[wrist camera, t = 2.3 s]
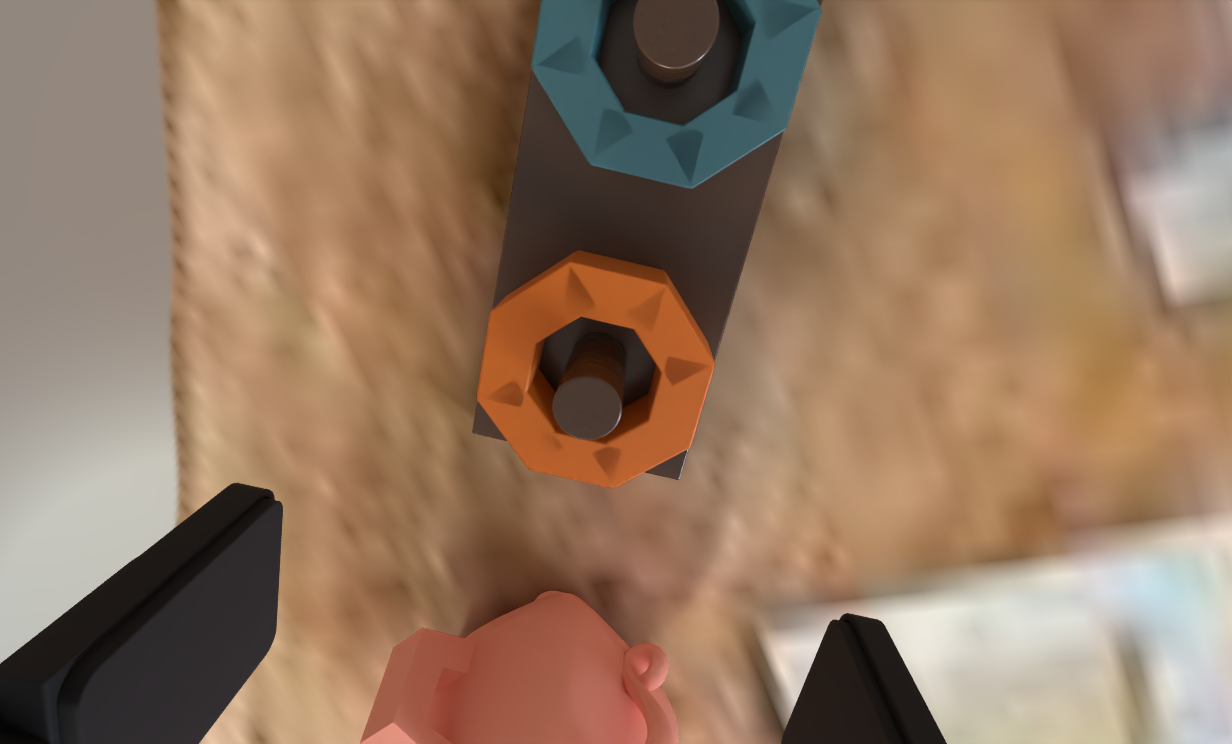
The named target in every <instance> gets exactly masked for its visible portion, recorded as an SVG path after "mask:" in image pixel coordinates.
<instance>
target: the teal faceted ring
mask: <svg viewBox="0 0 1232 744" xmlns="http://www.w3.org/2000/svg"><path fill="white" fill-rule="evenodd" d="M616 1H617V0H541V4H540V10H539V16H538V22H537V28H536V35H535V41H534V47H533V53H532V59H531V67H532V71H533V72H534V74H535V76H536V77H537V79H538V81H539V82H540V84H541V85H542V87H543V89H544V90H545V92H546V94H547V95H548V97H549V99H550V100H551V102H552V104H553V105H554V107H555V108H556V110H557V112H558V113H559V115H560V117H561V118H562V120H563V122H564V123H565V125H566V127H567V128H568V130H569V132H570V133H571V135H572V136H573V138H574V140H575V141H576V143H577V145H578V146H579V148H580V150H581V151H582V153H583V155H584V156H585V158H586V160H587V161H588V162H589V163H590V164H591V165H593V166H597V167H601V168H605V169H609V170H614V171H618V172H622V173H626V174H630V175H634V176H638V177H643V178H647V179H651V180H655V181H659V182H663V183H667V184H672V185H676V186H680V187H684V188H688V189H692V188H694V187H696V186H697V185H699V184H701V183H702V182H704V181H705V180H707V179H709V178H710V177H712V176H713V175H715V174H716V173H718V172H720V171H721V170H723V169H724V168H726V167H728V166H729V165H731V164H732V163H734V162H735V161H737V160H739V159H740V158H742V157H743V156H745V155H746V154H748V153H750V152H751V151H753V150H754V149H756V148H758V147H759V146H761V145H762V144H764V143H765V142H767V141H769V140H770V139H772V138H773V137H775V136H776V135H778V134H780V133H781V132H783V131H784V130H785V129H786V128H787V125H788V121H789V118H790V114H791V111H792V108H793V104H794V101H795V98H796V94H797V91H798V88H799V84H800V81H801V78H802V74H803V71H804V68H805V64H806V61H807V58H808V54H809V51H810V48H811V44H812V41H813V38H814V34H815V31H816V28H817V24H818V21H819V18H820V14H821V8H820V5H819V3H818V1H817V0H724V2H725V4H726V6H727V8H728V10H729V12H730V14H731V16H732V18H733V20H734V22H735V24H736V26H737V28H738V30H739V32H740V34H741V36H742V40H741V44H740V48H739V52H738V55H737V59H736V63H735V67H734V71H733V74H732V78H731V82H730V86H729V90H728V93H727V97H725V98H724V99H722V100H721V101H719V102H717V103H716V104H714V105H713V106H711V107H710V108H708V109H707V110H705V111H704V112H702V113H701V114H699V115H698V116H696V117H695V118H693V119H692V120H690V121H689V122H687V123H686V124H684V125H681V124H677V123H673V122H669V121H665V120H661V119H657V118H653V117H648V116H644V115H640V114H636V113H632V112H628V111H625V110H624V108H623V106H622V105H621V103H620V101H619V99H618V98H617V96H616V94H615V92H614V91H613V89H612V87H611V86H610V84H609V82H608V80H607V79H606V77H605V75H604V73H603V72H602V70H601V68H600V66H599V62H600V57H601V52H602V46H603V41H604V36H605V31H606V26H607V21H608V16H609V11H610V6H611V4H613V3H614V2H616Z"/></svg>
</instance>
